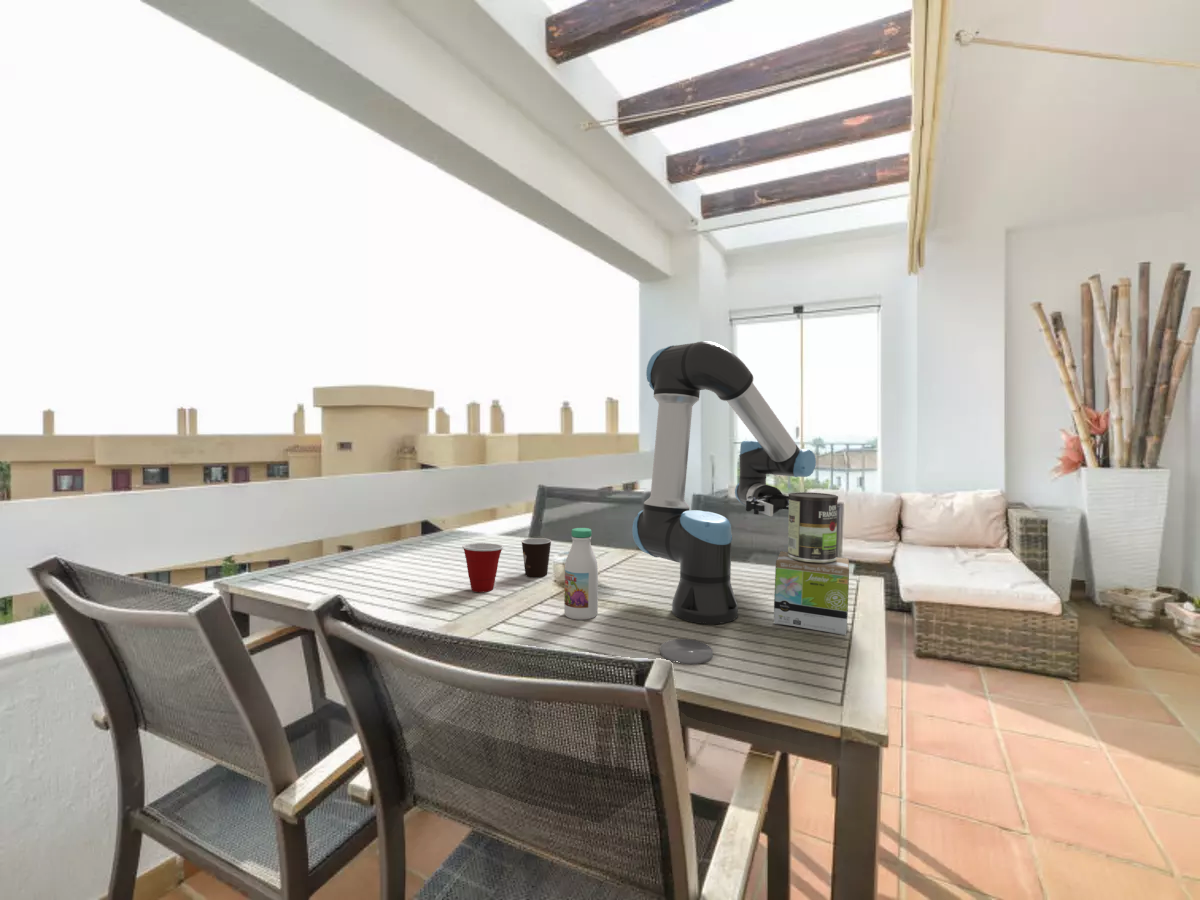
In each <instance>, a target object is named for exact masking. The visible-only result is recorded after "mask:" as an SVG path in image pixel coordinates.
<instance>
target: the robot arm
mask: <svg viewBox="0 0 1200 900" xmlns="http://www.w3.org/2000/svg"><path fill="white" fill-rule="evenodd" d="M645 373H646V374H645V376H646V381H647V382H648V383H649V384H648V385H649V387H650V388H651V389H652V390H653V398H654V399H655V400H656V402H657V403H658V409H657V419H656V430H655V431H656V432H655V433H656V434H655V441H654V442H655V443H654V455H653V467H652V476H651V485H650V487H651V488H650V496H649V498H647V499H646V500H645V501H643V509H642V510H640V511H639V512H638V513H637V516H634V518H633V519H634V520H633V522H632V538H633V541H634V543H635V545H636V546H637V547H638V549H639V550H640V551H642V552H643V553H646V554H648V555H649V556H652V557H654V558H661V559H665V560H668V561H672V562H676V563H679V569H680V570H679V581H678V584H677V586H676V589H675V592H674V595H673V599H672V603H671V607H672V608H671V612H672V614H673V616H675V617H677V618H679V619H681V620H682V621H683V620H684V621H687V622H690V623H694V624H695V623H697V624H703V625H704V624H705V625H718V624H719V625H720V624H726V623H730V622H734V621H735V620H736V619H737V618H738V613H739V612H738V611H739V605H738V603H737V602H738V601H737V599H736V596H735V592H734V590H733V586H732V583H731V577H732V576H731V570H732V567H731V565H732V541H733V536H732V524H731V522H730V520H729V519H728V518H727V517H725V516H724V515H721V514H719V513H715V512H712V511H704V510H699V509H698V510H697V509H695V510H694V509H693V510H690V509H691V508H690V505H689V504H688V503H687V501H686V500H685V497H686V495H685V494H686V483H687V473H688V460H689V452H690V451H689V450H690V438H691V427H692V417H693V416H692V415H693V406H695V404H697V403H698V402H699V401H700V395H701V391H703V390H705V391H706V390H707V391H710V392H712V393H714V394H716V396H717V398H719V400H721V401H723V402H727V403H728V404H729V406H730V407H731V409H732V410H733V411H734V412H735V414H736V415H737V416H738V418H739V419H740V420H741V421H742V423H743V424H744V425H745V427H746V428H747V429H748V430H749V432H750V434H751V435H752V436H753V437H754V439H755V440H743V441H742V442H740V447H739V448H740V450H739V455H738V456H739V478H738V483H737V484H736V486H735V488H734V496H735V498H736V499H737V501H738V502H739V503H740V504H742V505H743V506H745V511H746V512H751V511H752V510H753V515H759V513H760V514H763V515H766V516H769V517H774V514H775V513H777V512H780V511H781V510H787V511H789V497H788V495H785V494H783V493H782V492H781V490H780V489H779V488H777V487H776V486H772V485H770V484H767V475H774V476H784V477H794V478H799V477H800V478H806V477H810V476H812V474H813V473H814V471H815V468H816V465H817V461H816V459H817V458H816V455H815V453H814V452H813V451H812V450H811V449H805V448H800V447H799V446H798V445H797V443H796V442H795V440H794V439H793V438H792V436H791V434H789V432H788V431H787V429H786V428H785V426H784V424H782V422H781V420H780V419H779V418H778V417H777V415H776V414H775V413H774V410H773V409H772V408H771V406H770V405H769V404H768V402H767V401H766V399H765V398H764V397H763V396H762V394H761V392H760V391H759V390H758V388H757V386H756V385H755V384H754V375H753V374H752V372H751V371H750V369H749V368H748V366H747V365H746V364H745V363H744V361H742V360H741V359H740V358H739V357H738V355H736V354H735V353H734V352H732V351H730V349H728V348H726V346H723V345H721V344H718V343H717V342H714V341H708V340H703V341H697V342H692V343H684V344H676V345H669V346H667V347H664V348H660V349H658V350H657V351H655V352H654V353H653V354H652V355H651V357H650V358H649V361H648V362H647V366H646V372H645Z"/></svg>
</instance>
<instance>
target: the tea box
mask: <svg viewBox="0 0 1200 900" xmlns="http://www.w3.org/2000/svg"><path fill="white" fill-rule="evenodd" d="M774 573H775V574H774V597H773V598H774V599H773V602H774V603H773V625H774V624H775V625H782V626H783V625H784V626H790V627H797V628H803V629H809V630H813V631H820V632H826V633H831V634H835V635H836V634H837V635H842V636H846V634H847V629H848V628H847V627H848V615H849V613H848V612H849V590H850V589H849V586H850V579H849V578H850V561H849V558H847V557H846V558H845V557H838V556H836V561H834V562H829V563H813V562H805V561H799V560H795V559H792V558H790V557H788V551H782V550H781V551H780V552H779V554H778V557H777V559H776V560H775V571H774Z"/></svg>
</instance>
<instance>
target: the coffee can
mask: <svg viewBox="0 0 1200 900" xmlns="http://www.w3.org/2000/svg"><path fill="white" fill-rule="evenodd" d="M787 496H788V497H789V505H788V507H789V510H788V526H787V528H788V533H787V535H788V537H787V552H788V557H790V558H792V559H795V560H799V561H805V562H813V563H829V562H834V561H836V557H837V539H838V537H837V536H838V535H837V532H838V530H837V529H838V527H837V526H838V500H839V496H838V495H836V494H831V493H823V492H800V491H799V492H790V493H788V495H787Z"/></svg>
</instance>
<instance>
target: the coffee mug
mask: <svg viewBox="0 0 1200 900" xmlns="http://www.w3.org/2000/svg"><path fill="white" fill-rule="evenodd" d="M551 545H552V539H549V538H545V537H544V538H543V537H534V538H533V537H531V538H525V539H522V540H521V546H522V557H523V566H524V574H525V576H526V577H527V578H534V579H535V578H537V579H538V578H544V577H546V576H548V573H549V571H548V570H549V562H550V553H551Z"/></svg>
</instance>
